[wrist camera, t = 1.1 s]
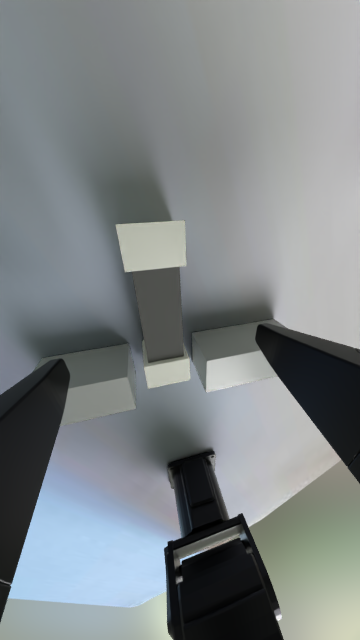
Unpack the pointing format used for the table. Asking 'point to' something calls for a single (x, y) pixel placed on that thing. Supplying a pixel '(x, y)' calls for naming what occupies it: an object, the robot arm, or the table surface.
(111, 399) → the grey block row
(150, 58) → the table surface
